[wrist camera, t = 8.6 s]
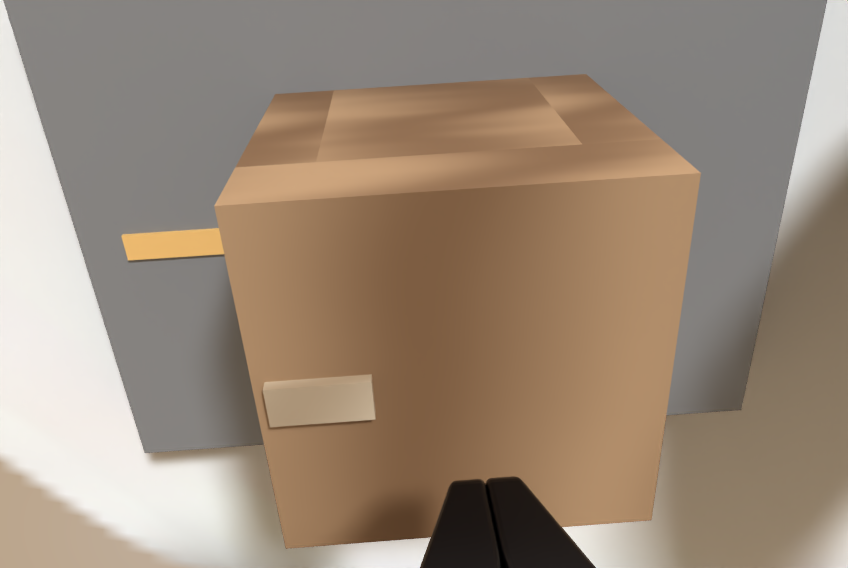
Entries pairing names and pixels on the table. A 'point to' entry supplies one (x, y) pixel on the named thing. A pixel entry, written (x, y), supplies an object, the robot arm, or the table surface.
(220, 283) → the gray rectangular slab
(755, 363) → the table surface
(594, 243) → the shipping carton
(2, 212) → the table surface
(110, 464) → the table surface
